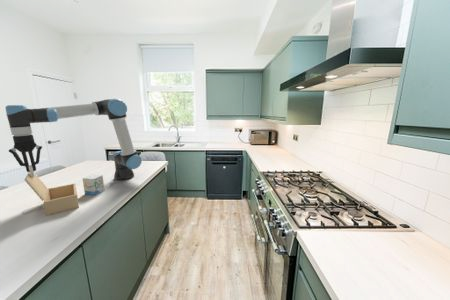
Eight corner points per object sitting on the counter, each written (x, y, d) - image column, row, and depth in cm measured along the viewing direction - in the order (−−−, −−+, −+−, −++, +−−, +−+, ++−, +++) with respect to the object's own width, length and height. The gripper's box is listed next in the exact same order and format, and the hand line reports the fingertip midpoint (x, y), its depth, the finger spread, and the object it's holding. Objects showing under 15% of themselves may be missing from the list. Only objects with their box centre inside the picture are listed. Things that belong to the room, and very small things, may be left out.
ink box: (94, 195, 129) (92, 179, 126) (84, 194, 130) (81, 178, 128) (105, 190, 137) (102, 174, 134) (95, 189, 138) (92, 174, 136)
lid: (31, 169, 113) (30, 169, 113) (25, 179, 97) (24, 179, 96) (46, 187, 119) (45, 188, 119) (43, 200, 103) (42, 201, 102)
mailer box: (77, 194, 130) (75, 183, 128) (78, 207, 113) (76, 194, 111) (49, 200, 121) (46, 188, 120) (46, 215, 104) (43, 202, 102)
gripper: (40, 133, 108) (49, 172, 113) (6, 135, 100) (17, 177, 105) (38, 134, 102) (48, 175, 107) (2, 137, 94) (15, 181, 100)
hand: (33, 176), depth 106 cm, fingers closed
